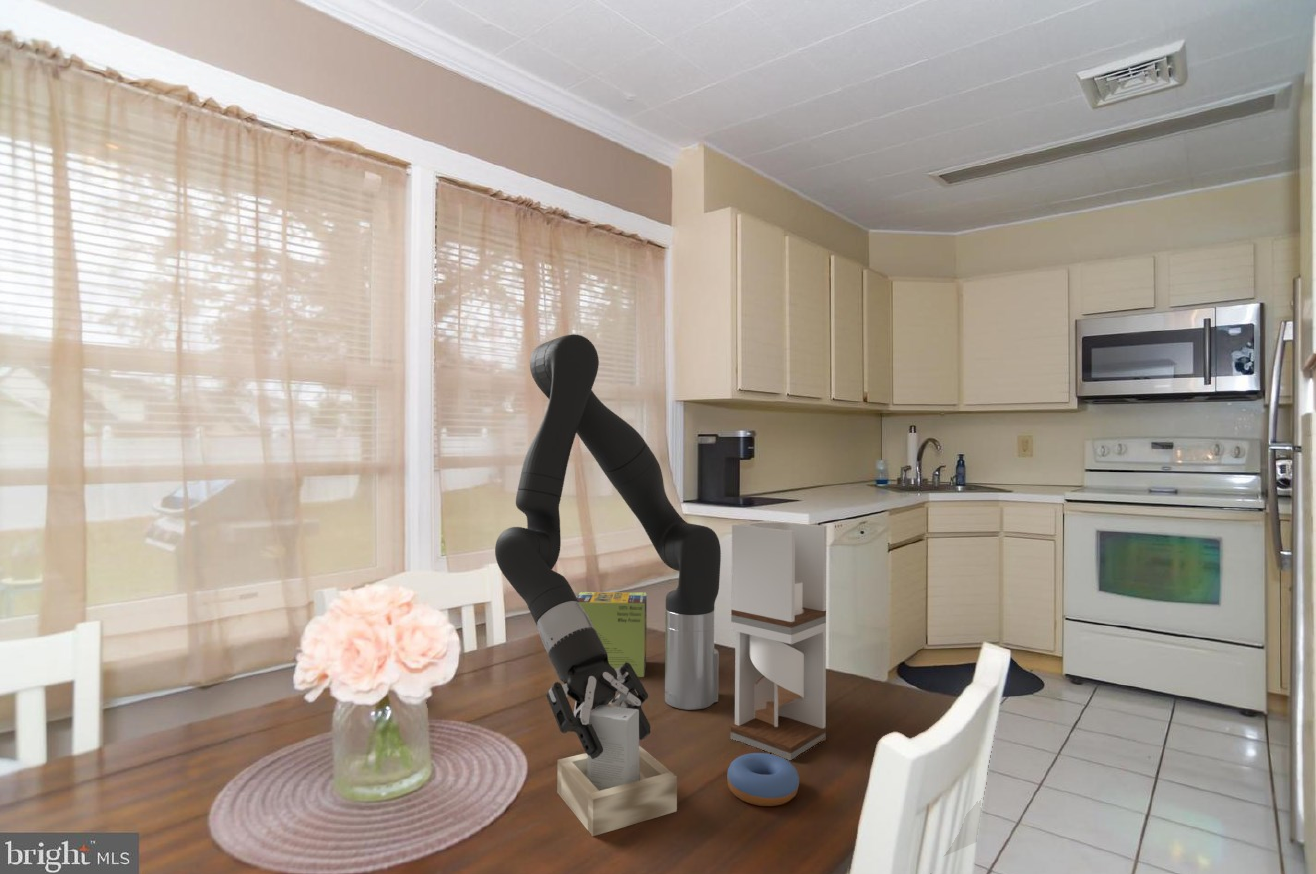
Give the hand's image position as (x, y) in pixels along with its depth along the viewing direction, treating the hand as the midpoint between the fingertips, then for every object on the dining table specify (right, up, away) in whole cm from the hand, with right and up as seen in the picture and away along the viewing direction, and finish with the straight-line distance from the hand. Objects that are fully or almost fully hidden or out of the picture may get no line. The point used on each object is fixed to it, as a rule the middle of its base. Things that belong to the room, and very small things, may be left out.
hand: (622, 745), depth 90 cm
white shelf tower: (+24, -9, +21) cm, 33 cm away
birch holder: (-1, -8, +1) cm, 8 cm away
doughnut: (+19, -9, +4) cm, 22 cm away
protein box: (-6, -9, +56) cm, 57 cm away
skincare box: (-1, -8, +1) cm, 8 cm away
